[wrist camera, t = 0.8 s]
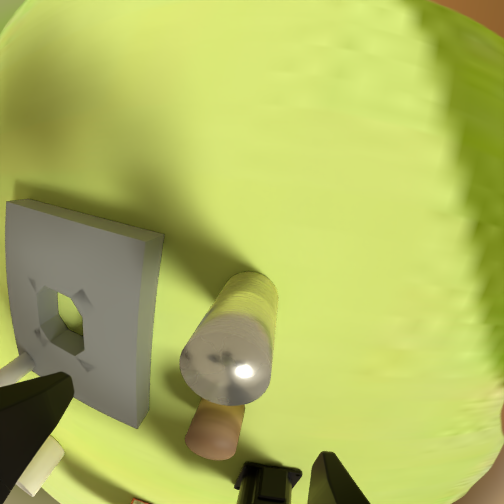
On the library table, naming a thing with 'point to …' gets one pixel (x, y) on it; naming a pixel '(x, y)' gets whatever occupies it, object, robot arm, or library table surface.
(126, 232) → the grey peg base
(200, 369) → the long pin
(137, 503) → the cracker box
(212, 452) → the short pin
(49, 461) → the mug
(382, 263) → the library table surface
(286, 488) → the robot arm
